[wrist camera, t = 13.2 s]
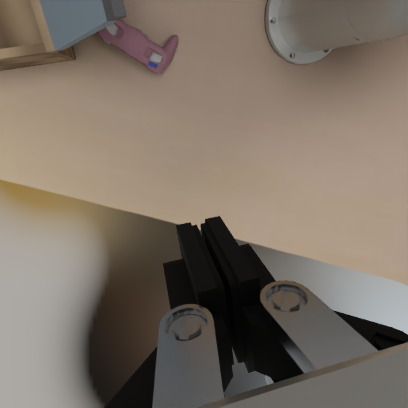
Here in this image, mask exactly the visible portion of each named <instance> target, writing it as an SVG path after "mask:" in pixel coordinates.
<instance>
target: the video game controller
mask: <svg viewBox="0 0 408 408" xmlns="http://www.w3.org/2000/svg"><path fill="white" fill-rule="evenodd" d="M97 33H98V34H99V35H100V37H102V39H103V40H104V41H105V42H106V43H108V44H114V45H116V46H117V47H119V48H120V49H121V50H123V51H124V52H126V53H127V54H129V55H130V56H132V57H134V58H135V59H137V60H139V61H141V62H142V63H143V64H144V65H145V66H146V67H147V68H148V69H150V70H152V71H153V72H156V73H163V71H164V70H165V68H166V67H167V66H168V65H169V63H170V62H171V60H172V58H173V56H174V53H175V50H176V48H177V45H178V36H177V35H173V36H172V37H170V39H169V40H168V41H167V43H166V44H165V46H164V47H163V48H161V47H159V46H158V45H157V44H155V43H153V42H152V41H150V40H149V39H148V38H147V37H146V36H145V35H144V34H143V33H142V32H141V31H139V30H138V29H136V28H133V27H131V26H128V25H127V24H126V23H124V22H123V21H122V20H118V21H117V22H115V23H113V24H111V25H109V26H107V27H105V28H104V29H102V30H100V31H98V32H97Z"/></svg>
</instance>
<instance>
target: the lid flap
mask: <svg viewBox="0 0 408 408" xmlns="http://www.w3.org/2000/svg"><path fill="white" fill-rule="evenodd" d="M39 1H40V4H41V7H42V11H43V14H44V17H45V20H46V23H47V27H48V30H49V33H50V36H51V39H52V42H53V46H54V49H55V51H59V50H65V49H67V48H68V47H70V46H72V45H74V44H76V43H78V42H79V41H81V40H83V39H85V38H87V37H89V36H91V35H92V34H94V33H96V32H98V31H100V30H102V29H104V28H105V27H107V26H109V25H111V24H113V23H115V22H117V21H118V20H120V19H122V18H124V17H126V13H125V8H124V4H123V0H39Z"/></svg>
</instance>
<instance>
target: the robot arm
mask: <svg viewBox="0 0 408 408" xmlns="http://www.w3.org/2000/svg"><path fill="white" fill-rule="evenodd" d="M270 20H271V21H272V24H271V22H270ZM265 25H266V31H267V35H268V38H269V41H270V43H271V45H272V47H273V49H274V50H275V51H276V52H277V54H278V55H279V56H280V57H282V58H283V59H284V60H286V61H288V62H291V63H294V64H309V63H314V62H316V61H319V60H321V59H322V58H324V57H325V56H327V55H328V54H329V53H330V52H331V51H332V50H333V49H334V48H339V47H345V46H351V45H357V44H363V43H369V42H375V41H381V40H386V39H392V38H396V37H399V36H402V35H404V34H407V33H408V0H268V3H267V7H266V14H265ZM323 50H324V51H323ZM290 54H291V57H290ZM176 229H177V234H178V240H179V245H180V251H181V256H182V259H180V260H175V261H171V262H167V263H163V267H164V273H165V278H166V284H167V290H168V296H169V302H170V308H171V310H170V311H169V312H168V313H167V314H166V315H165V316H164V317H163V319H162V320H161V323H160V327H159V335H158V346H157V347H156V348H155V350H154V351H153V352H152V353H151V354H150V356H149V357H148V358H147V359H146V360H145V361H144V363H143V364H142V365H141V366H140V367H139V368H138V369H137V371H136V372H135V373H134V374H133V375H132V376H131V378H130V379H129V380H128V381H127V382H126V383H125V385H124V386H123V387H122V388H121V390H119V392H118V393H117V394H116V395H115V396H114V397H113V398H112V400H111V401H110V402H109V403H108V404H107V405H106V407H105V408H408V335H407V334H406V333H404V332H402V331H400V330H397V329H394V328H392V327H388V326H385V325H382V324H378V323H375V322H371V321H368V320H365V319H361V318H358V317H354V316H350V315H347V314H344V313H340V312H337V311H333V310H332V309H330V308H329V307H328V306H327V305H326V304H325V303H324V302H322V301H321V300H320V299H319V298H318V297H317V296H316V295H314V294H313V293H312V292H311V291H310V290H309V289H308V288H306V287H304V286H303V285H301V284H299V283H296V282H292V281H275V280H274V278H273V277H272V275H271V274H270V272H269V271H268V270H267V268H266V267H265V265H264V264H263V263H262V261H261V260H260V258H259V257H258V256H257V254H256V253H255V252H254V250H253V249H252V247H251V246H250V245H249V244H245V245H241V246H239V245H238V243H237V242H236V240H235V239H234V237H233V236H232V234H231V233H230V231H229V230H228V228H227V227H226V225H225V223H224V222H223V220H222V219H221V217H220V216H218V217H213V218H208V219H205V223H203V224H201V232H202V235H201V234H200V231H199V229H198V227H197V225H194V226H192V225H191V223H185V224H180V225H176ZM232 348H233V351H234V353H235V356H236V358H237V361H238V363H241V362H244V363H245V365H246V368H247V370H248V373H249V372H253V371H257V372H259V373H262V374H264V375H265V380H266V382H267V384H268V385H266V386H263V387H260V388H256V389H253V390H250V391H247V392H243V393H241V394H237V395H234V396H231V397H227V398H225V395H224V392H225V390H226V388H227V386H228V384H229V383H230V380H231V379H232V377H233V372H232V365H234V361H233V352H232Z"/></svg>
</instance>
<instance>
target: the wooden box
mask: <svg viewBox="0 0 408 408" xmlns="http://www.w3.org/2000/svg"><path fill="white" fill-rule="evenodd" d="M75 59H76V58H75V54H74V51H73V48H72V46H70V47H68V48H67V49H65V50H59V51H55V49H54V46H53V42H52V39H51V36H50V33H49V30H48V27H47V23H46V20H45V17H44V14H43V11H42V7H41V4H40V1H39V0H0V71H1V70H8V69H15V68H21V67H28V66H35V65H41V64H48V63H55V62H61V61H68V60H75Z"/></svg>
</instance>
